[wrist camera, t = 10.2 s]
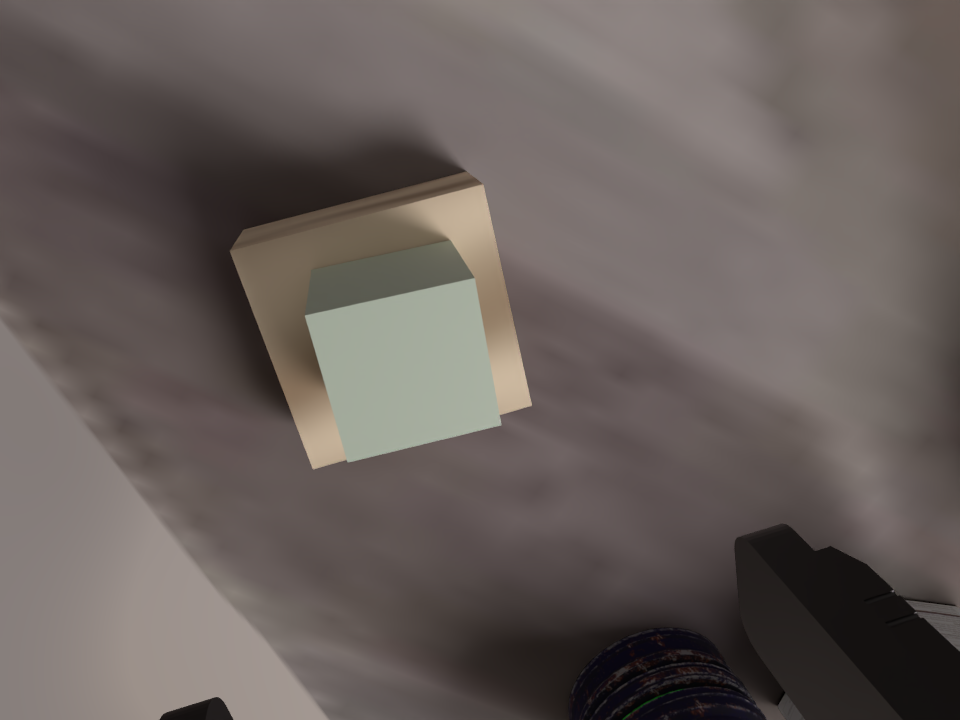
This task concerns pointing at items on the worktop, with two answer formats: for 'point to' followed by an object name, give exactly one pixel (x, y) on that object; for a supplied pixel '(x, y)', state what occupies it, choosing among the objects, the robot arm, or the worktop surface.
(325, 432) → the maple box
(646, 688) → the storage jar
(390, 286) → the sage cube
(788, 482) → the worktop surface
